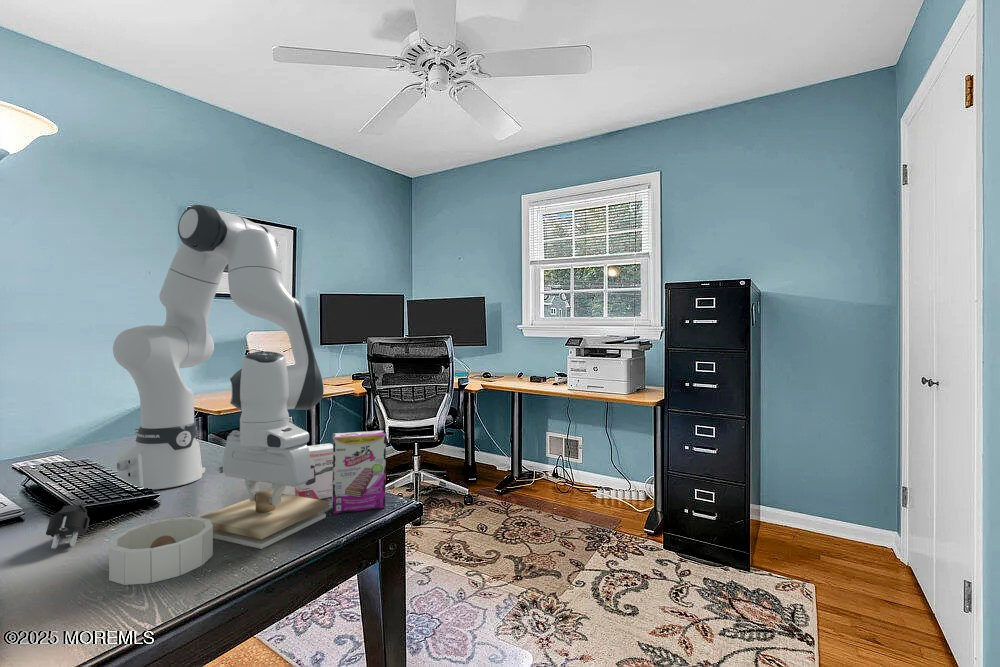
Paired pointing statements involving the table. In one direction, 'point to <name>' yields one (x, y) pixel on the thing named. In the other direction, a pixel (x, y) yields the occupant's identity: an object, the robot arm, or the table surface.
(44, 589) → the table surface
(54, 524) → the power plug
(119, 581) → the bowl
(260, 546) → the mat
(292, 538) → the table surface
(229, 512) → the lid
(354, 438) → the candy bar box
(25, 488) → the table surface
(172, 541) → the walnut
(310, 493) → the ink box
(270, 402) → the robot arm
